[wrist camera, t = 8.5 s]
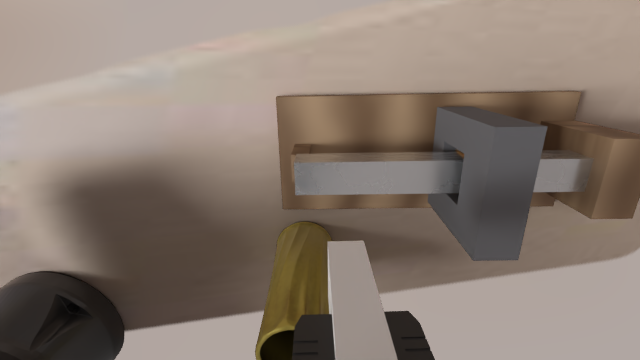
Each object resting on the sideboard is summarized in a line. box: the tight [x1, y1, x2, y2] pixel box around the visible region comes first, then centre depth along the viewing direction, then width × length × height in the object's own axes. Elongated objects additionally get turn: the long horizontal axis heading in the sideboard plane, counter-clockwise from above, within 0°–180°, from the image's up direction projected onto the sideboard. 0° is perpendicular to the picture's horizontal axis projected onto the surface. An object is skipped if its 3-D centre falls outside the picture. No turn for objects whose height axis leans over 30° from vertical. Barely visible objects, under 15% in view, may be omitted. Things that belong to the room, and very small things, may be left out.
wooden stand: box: [276, 91, 640, 219], centre depth 27 cm, size 27×11×9 cm, turn 91°
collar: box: [428, 106, 548, 261], centre depth 25 cm, size 3×9×10 cm, turn 1°
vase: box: [255, 222, 332, 360], centre depth 28 cm, size 6×6×14 cm
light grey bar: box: [294, 149, 594, 195], centre depth 25 cm, size 22×3×3 cm, turn 91°
